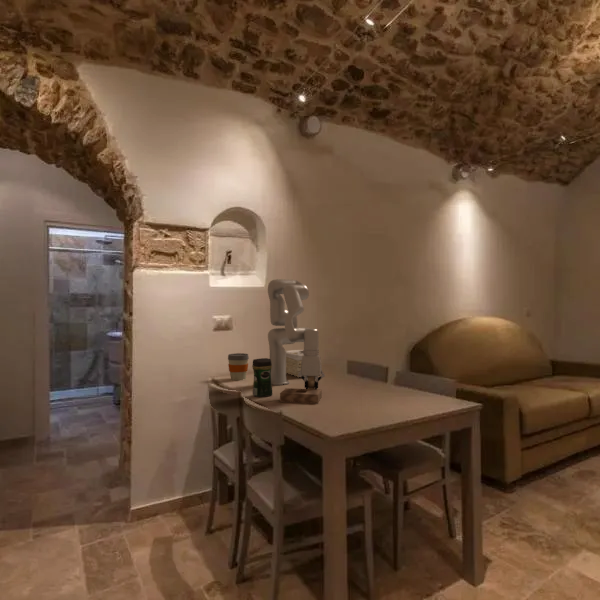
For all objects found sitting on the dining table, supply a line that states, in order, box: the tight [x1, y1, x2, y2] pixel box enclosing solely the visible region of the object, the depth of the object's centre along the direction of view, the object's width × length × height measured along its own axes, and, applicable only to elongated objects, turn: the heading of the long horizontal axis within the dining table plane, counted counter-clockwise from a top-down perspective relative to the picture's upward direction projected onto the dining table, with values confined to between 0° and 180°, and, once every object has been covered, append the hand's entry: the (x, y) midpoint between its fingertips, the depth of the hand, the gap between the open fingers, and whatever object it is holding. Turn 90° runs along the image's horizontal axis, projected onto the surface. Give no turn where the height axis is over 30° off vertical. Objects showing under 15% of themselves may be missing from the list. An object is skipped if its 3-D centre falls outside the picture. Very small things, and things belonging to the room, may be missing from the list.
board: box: [279, 387, 323, 404], centre depth 206 cm, size 18×12×4 cm, turn 79°
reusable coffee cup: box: [227, 352, 250, 381], centre depth 262 cm, size 13×13×15 cm
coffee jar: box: [251, 357, 273, 398], centre depth 216 cm, size 10×8×19 cm
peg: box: [307, 376, 316, 389], centre depth 217 cm, size 4×4×10 cm
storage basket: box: [285, 349, 305, 378], centre depth 278 cm, size 24×16×15 cm
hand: (311, 389), depth 217 cm, fingers closed on peg, 4 cm apart
